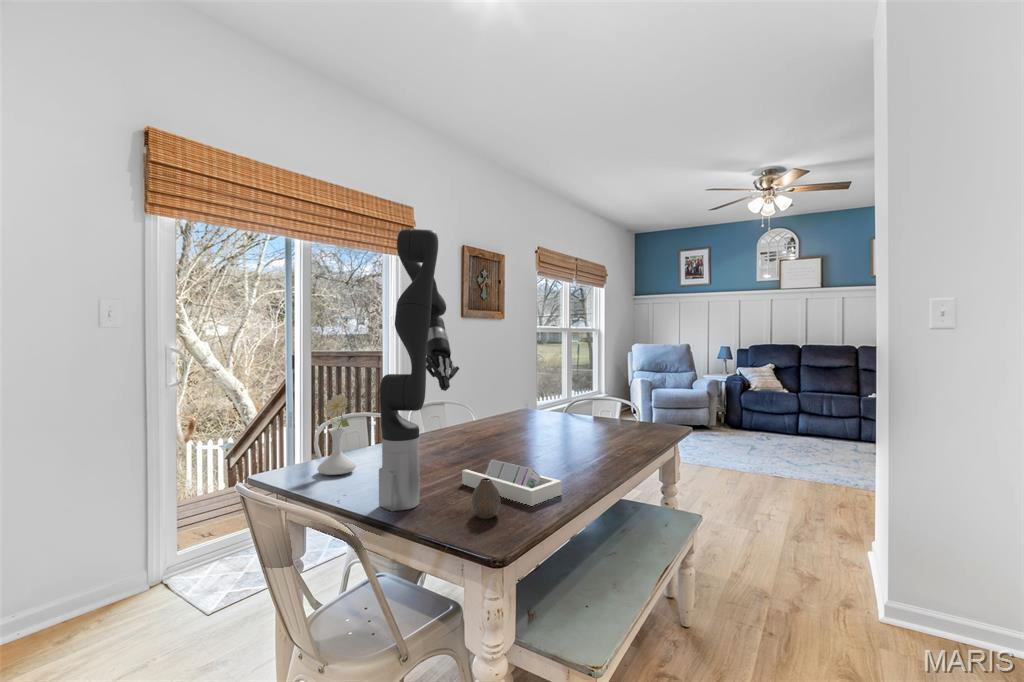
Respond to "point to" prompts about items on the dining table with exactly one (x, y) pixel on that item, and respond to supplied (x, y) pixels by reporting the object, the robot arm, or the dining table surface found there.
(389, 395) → the robot arm
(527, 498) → the rectangular tray
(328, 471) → the flower in vase
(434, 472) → the dining table surface
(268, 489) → the dining table surface
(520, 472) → the syrup box
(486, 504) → the vase
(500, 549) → the dining table surface
